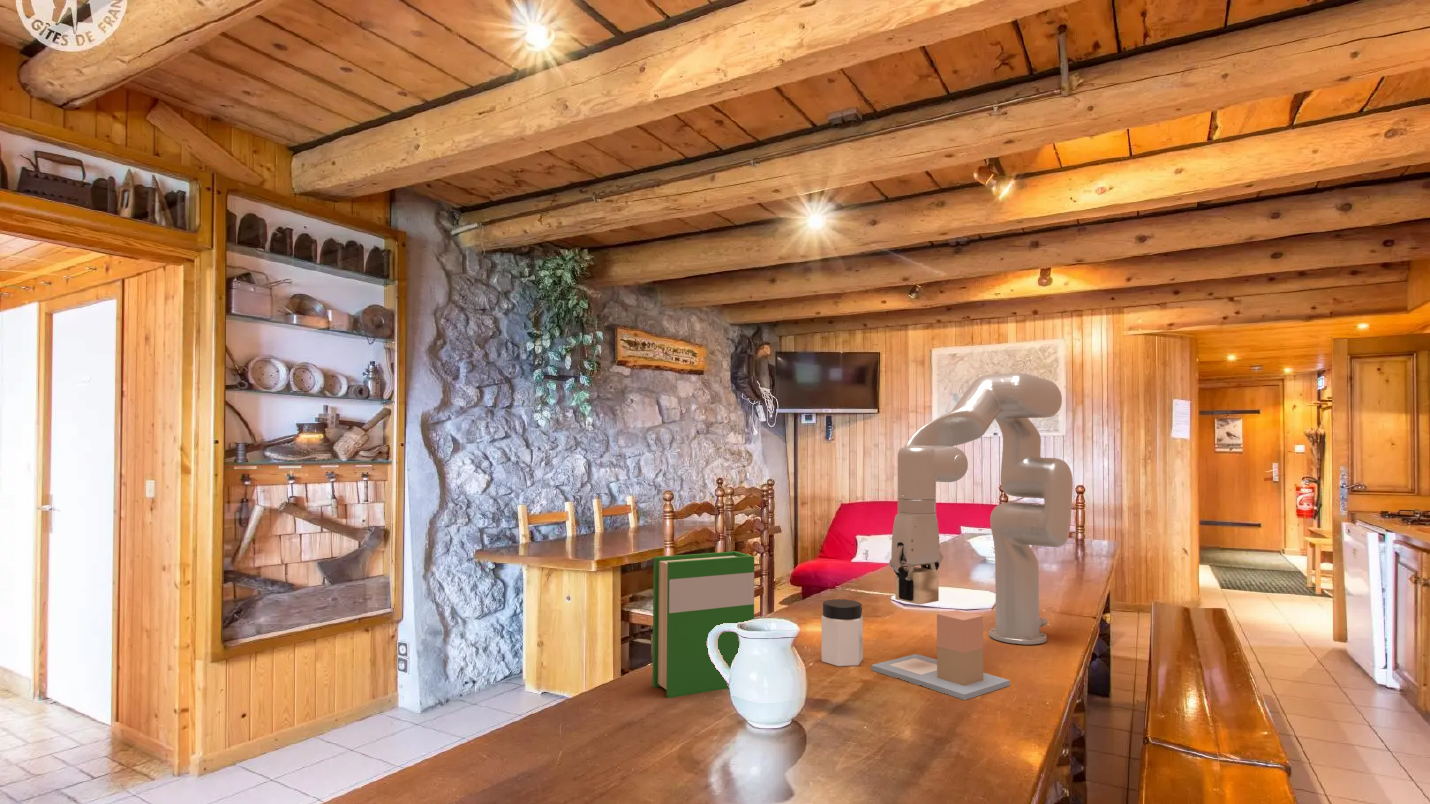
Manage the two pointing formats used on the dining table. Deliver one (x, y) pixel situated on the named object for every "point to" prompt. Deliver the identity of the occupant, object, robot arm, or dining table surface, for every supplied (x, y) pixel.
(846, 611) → the jar
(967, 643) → the terracotta block
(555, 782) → the dining table surface
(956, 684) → the board
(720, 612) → the hardback book
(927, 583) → the birch block
